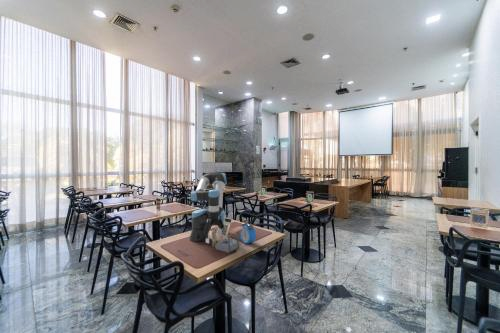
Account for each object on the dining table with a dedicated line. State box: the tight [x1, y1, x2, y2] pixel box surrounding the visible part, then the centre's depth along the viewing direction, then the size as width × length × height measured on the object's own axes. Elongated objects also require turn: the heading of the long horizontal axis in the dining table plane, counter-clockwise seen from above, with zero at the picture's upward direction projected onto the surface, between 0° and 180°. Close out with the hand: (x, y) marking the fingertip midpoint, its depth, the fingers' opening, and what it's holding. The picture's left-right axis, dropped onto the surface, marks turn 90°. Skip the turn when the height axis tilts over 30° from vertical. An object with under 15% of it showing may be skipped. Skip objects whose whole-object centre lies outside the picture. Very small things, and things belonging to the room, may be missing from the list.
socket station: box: [214, 226, 243, 254], centre depth 153 cm, size 16×12×15 cm
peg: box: [211, 229, 217, 248], centre depth 157 cm, size 3×3×12 cm
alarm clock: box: [239, 221, 257, 245], centre depth 164 cm, size 13×6×15 cm, turn 41°
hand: (213, 239), depth 157 cm, fingers open, 13 cm apart
